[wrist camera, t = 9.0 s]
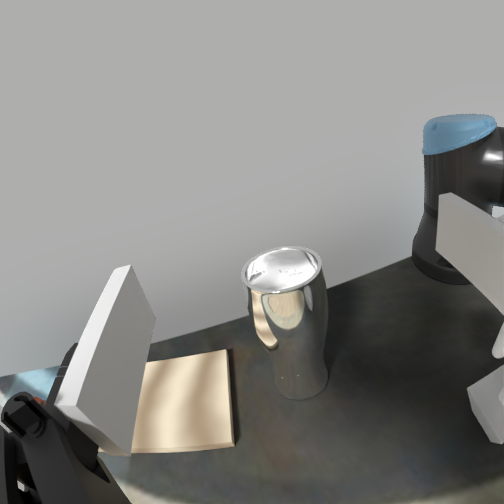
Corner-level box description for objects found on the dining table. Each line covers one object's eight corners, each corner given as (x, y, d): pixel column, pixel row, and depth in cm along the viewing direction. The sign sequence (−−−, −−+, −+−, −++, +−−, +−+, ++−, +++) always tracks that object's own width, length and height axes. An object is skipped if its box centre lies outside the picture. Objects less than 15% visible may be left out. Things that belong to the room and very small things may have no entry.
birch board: (228, 355, 37) (225, 349, 36) (234, 446, 25) (231, 441, 25) (106, 373, 37) (102, 367, 37) (87, 450, 26) (81, 446, 25)
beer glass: (267, 361, 35) (237, 254, 28) (324, 349, 34) (313, 238, 27) (273, 409, 29) (239, 302, 22) (338, 395, 28) (335, 281, 21)
